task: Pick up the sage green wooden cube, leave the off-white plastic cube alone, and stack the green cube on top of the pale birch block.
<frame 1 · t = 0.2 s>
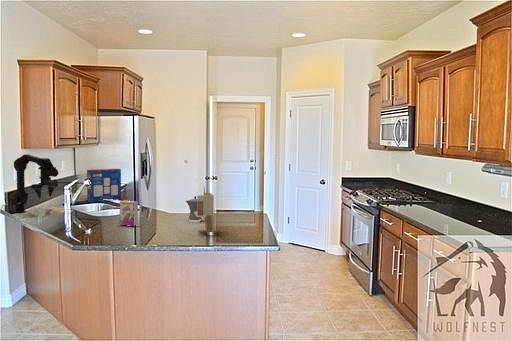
hand: (45, 197, 307), 14 cm above the countertop, tool pointing down, fingers open, 9 cm apart
candy bar box: (128, 226, 281), on the countertop
white cube: (36, 213, 315), on the countertop
birch block: (55, 213, 319), on the countertop
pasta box: (104, 200, 386), on the countertop
coffeepot: (196, 221, 300), on the countertop
sage cube: (39, 216, 307), on the countertop
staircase: (203, 234, 265), on the countertop
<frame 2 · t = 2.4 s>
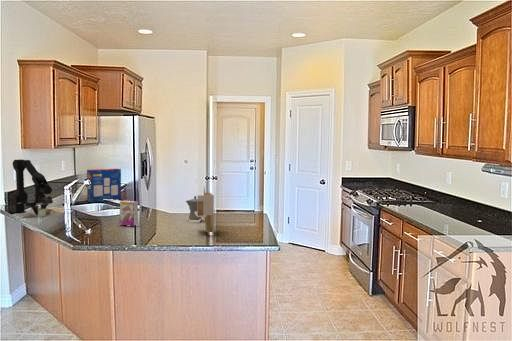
hand: (39, 214, 307), 1 cm above the countertop, tool pointing down, fingers closed on sage cube, 5 cm apart
sage cube: (39, 215, 307), on the countertop, touching gripper
everything else where it was.
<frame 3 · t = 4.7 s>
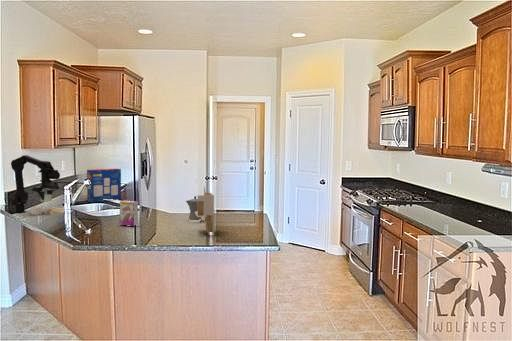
hand: (46, 199, 311), 11 cm above the countertop, tool pointing down, fingers closed on sage cube, 5 cm apart
sage cube: (46, 201, 311), point 10 cm above the countertop, touching gripper
everything else where it was.
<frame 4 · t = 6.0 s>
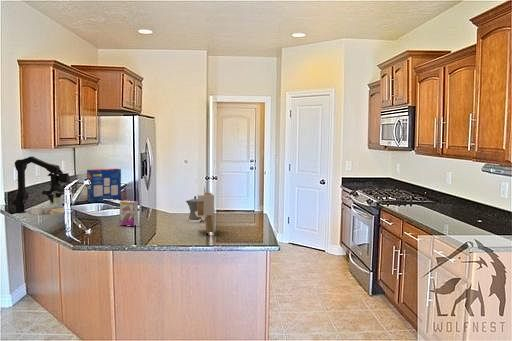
hand: (55, 202, 318), 8 cm above the countertop, tool pointing down, fingers closed on sage cube, 5 cm apart
sage cube: (55, 204, 318), point 7 cm above the countertop, touching gripper
everything else where it was.
when the fingers open (6 cm above the countertop, at t = 7.2 s): sage cube drops 1 cm, point 4 cm above the countertop.
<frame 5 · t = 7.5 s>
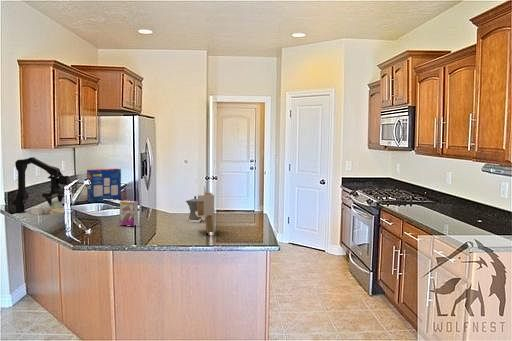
hand: (55, 205, 319), 6 cm above the countertop, tool pointing down, fingers open, 8 cm apart
sage cube: (55, 208, 319), point 4 cm above the countertop
everything else where it was.
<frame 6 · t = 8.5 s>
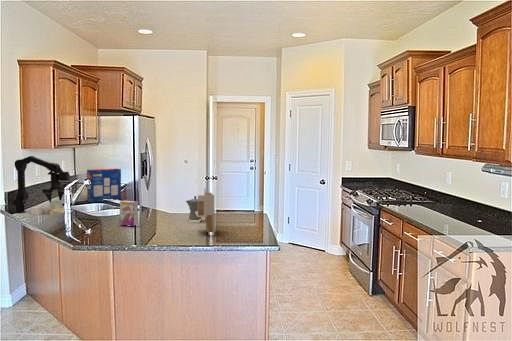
hand: (55, 201, 318), 9 cm above the countertop, tool pointing down, fingers open, 9 cm apart
birch block: (55, 213, 319), on the countertop, touching sage cube
sage cube: (55, 208, 319), point 4 cm above the countertop, touching birch block
everything else where it was.
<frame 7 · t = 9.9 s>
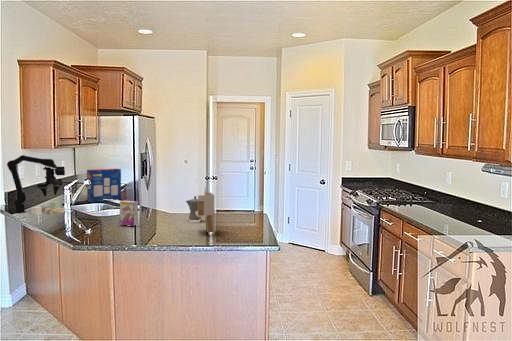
hand: (50, 195, 325), 12 cm above the countertop, tool pointing down, fingers open, 9 cm apart
birch block: (55, 213, 319), on the countertop
sage cube: (55, 208, 319), point 4 cm above the countertop
everything else where it was.
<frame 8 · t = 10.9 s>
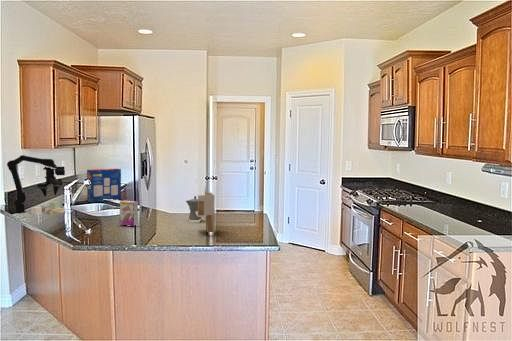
hand: (50, 195, 325), 12 cm above the countertop, tool pointing down, fingers open, 9 cm apart
birch block: (55, 213, 319), on the countertop, touching sage cube
sage cube: (55, 208, 319), point 4 cm above the countertop, touching birch block
everything else where it was.
at the end: sage cube 0.2 cm off-centre on the birch block, point 4.0 cm above the birch block's base; sage cube tilted 0°; the gripper is holding nothing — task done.
